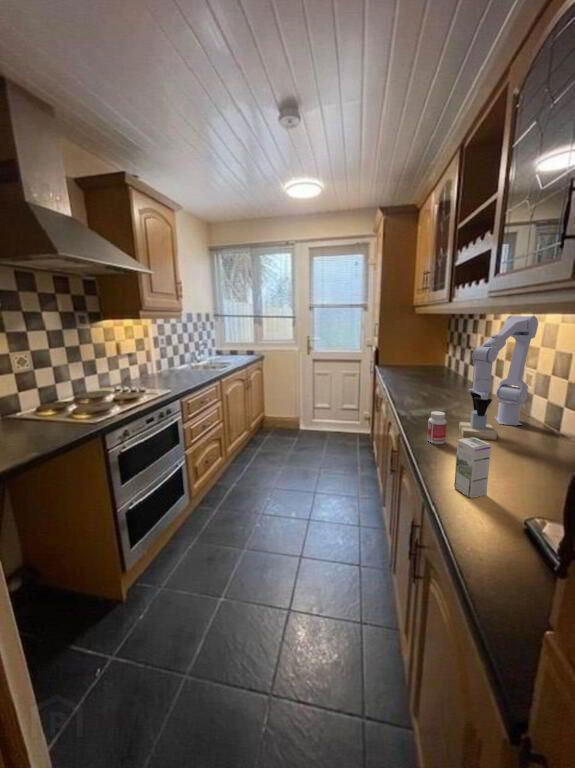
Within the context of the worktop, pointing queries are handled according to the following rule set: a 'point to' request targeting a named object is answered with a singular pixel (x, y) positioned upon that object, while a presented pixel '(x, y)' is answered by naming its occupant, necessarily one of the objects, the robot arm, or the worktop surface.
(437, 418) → the pill bottle
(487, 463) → the syrup box
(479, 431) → the birch base
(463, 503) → the worktop surface
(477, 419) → the blue block
